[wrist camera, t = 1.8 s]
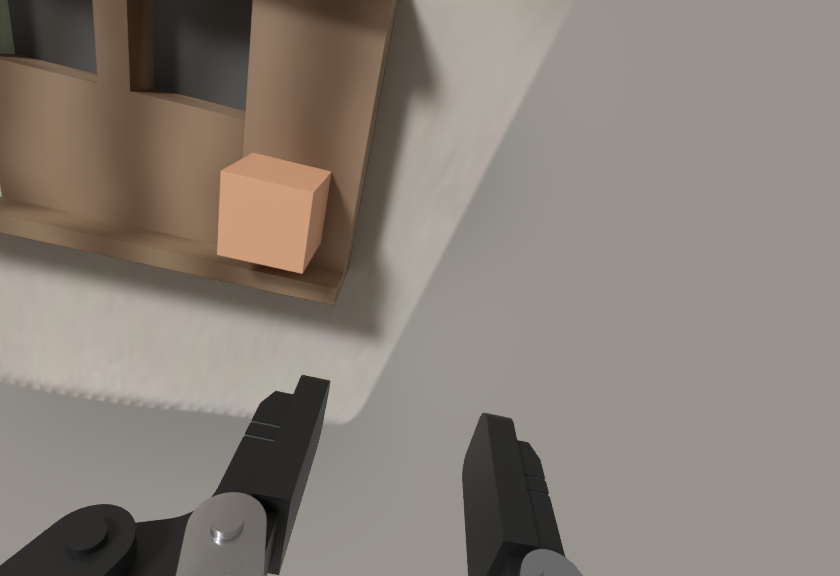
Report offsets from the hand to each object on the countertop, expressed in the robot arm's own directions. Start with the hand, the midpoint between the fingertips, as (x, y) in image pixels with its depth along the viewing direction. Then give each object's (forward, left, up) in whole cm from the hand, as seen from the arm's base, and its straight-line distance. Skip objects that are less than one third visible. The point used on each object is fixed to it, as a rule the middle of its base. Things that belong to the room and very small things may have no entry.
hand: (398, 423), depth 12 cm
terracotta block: (-7, 0, -15) cm, 16 cm away
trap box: (-16, +3, -17) cm, 23 cm away
